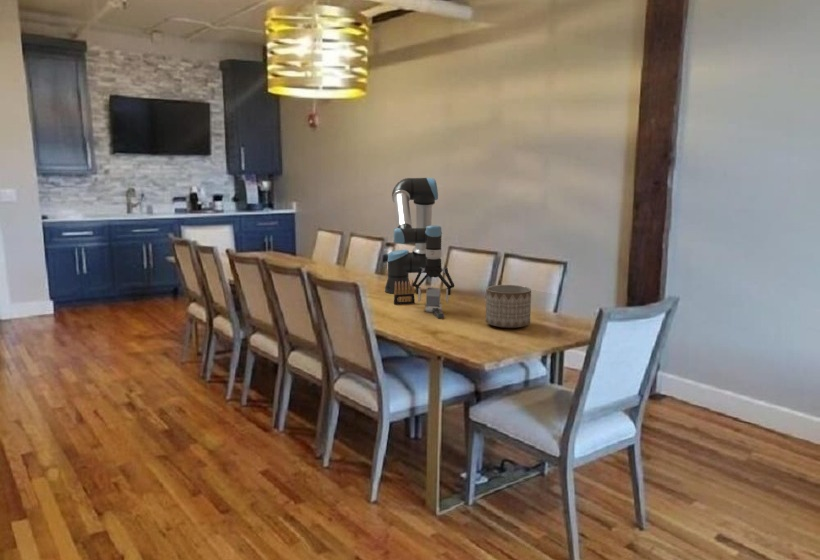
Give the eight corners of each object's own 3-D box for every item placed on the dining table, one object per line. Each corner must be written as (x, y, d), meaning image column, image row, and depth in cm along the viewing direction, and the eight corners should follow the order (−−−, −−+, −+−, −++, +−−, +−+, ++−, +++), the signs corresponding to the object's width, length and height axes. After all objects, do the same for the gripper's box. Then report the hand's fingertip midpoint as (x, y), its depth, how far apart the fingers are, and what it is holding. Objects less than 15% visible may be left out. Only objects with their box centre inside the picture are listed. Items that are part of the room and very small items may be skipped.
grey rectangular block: (428, 303, 303) (428, 287, 302) (440, 304, 302) (440, 288, 301) (426, 306, 297) (426, 290, 296) (438, 306, 296) (438, 290, 295)
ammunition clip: (413, 302, 320) (413, 280, 318) (414, 303, 318) (414, 280, 316) (393, 303, 317) (393, 281, 315) (394, 304, 315) (394, 281, 313)
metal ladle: (423, 309, 303) (423, 297, 302) (439, 309, 305) (439, 297, 304) (432, 319, 284) (432, 306, 283) (449, 318, 286) (449, 305, 284)
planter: (477, 322, 277) (478, 286, 274) (514, 318, 285) (515, 283, 282) (500, 332, 260) (501, 294, 257) (538, 328, 267) (540, 290, 264)
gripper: (406, 258, 294) (406, 302, 298) (458, 259, 290) (458, 303, 294) (409, 256, 301) (409, 298, 305) (460, 257, 297) (459, 300, 301)
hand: (433, 301), depth 300 cm, fingers open, 13 cm apart
